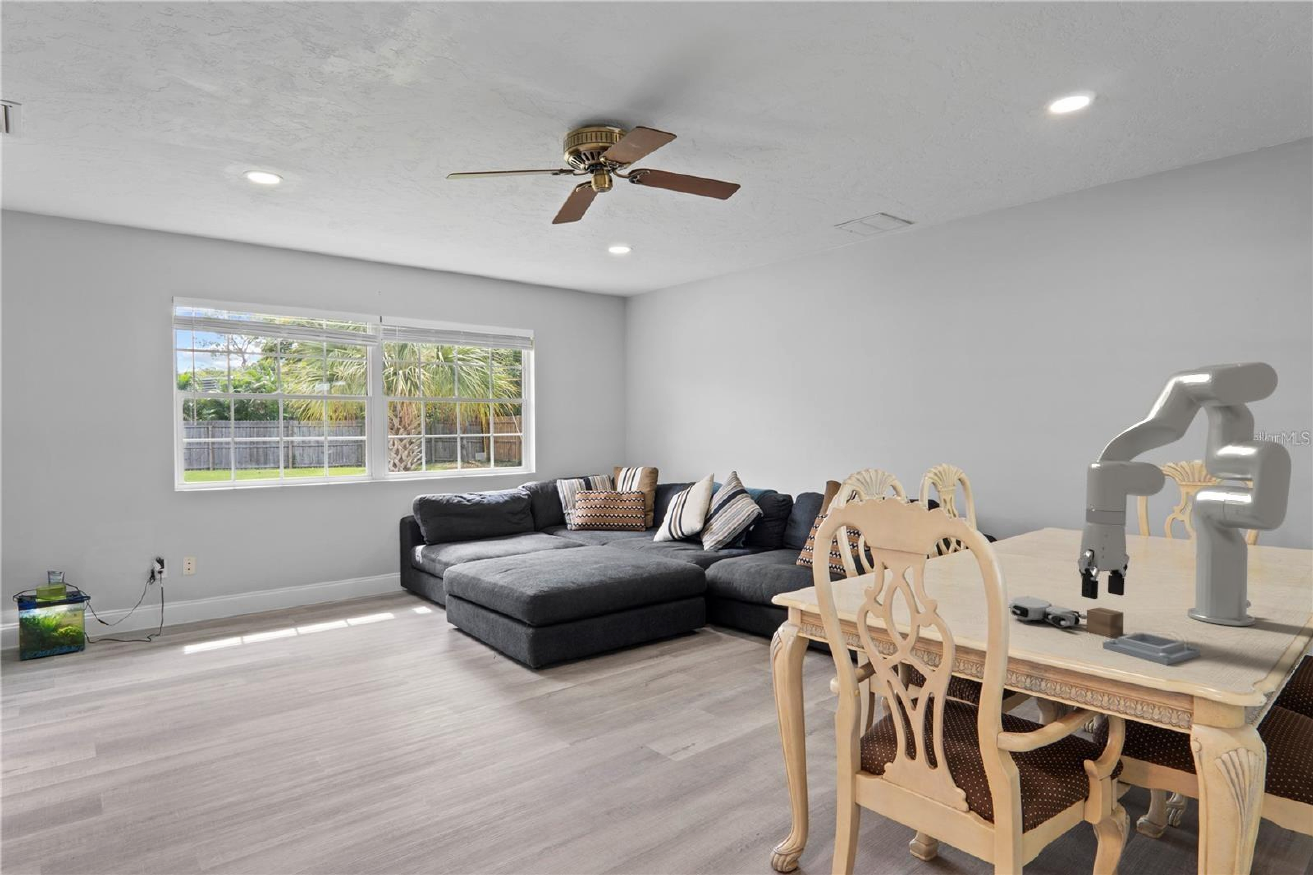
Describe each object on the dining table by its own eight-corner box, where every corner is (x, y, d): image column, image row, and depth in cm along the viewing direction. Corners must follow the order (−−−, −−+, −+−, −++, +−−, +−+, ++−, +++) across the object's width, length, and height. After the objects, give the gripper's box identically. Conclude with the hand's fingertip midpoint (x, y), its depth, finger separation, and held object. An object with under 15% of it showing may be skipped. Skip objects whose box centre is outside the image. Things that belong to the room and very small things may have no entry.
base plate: (1136, 639, 154) (1136, 628, 154) (1199, 655, 143) (1200, 643, 143) (1102, 647, 148) (1103, 636, 148) (1166, 665, 138) (1167, 652, 138)
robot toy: (1089, 628, 166) (1023, 610, 178) (1091, 609, 166) (1025, 592, 177) (1066, 638, 158) (998, 618, 170) (1068, 618, 158) (1000, 599, 170)
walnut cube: (1099, 629, 162) (1100, 607, 162) (1123, 635, 158) (1123, 612, 158) (1086, 632, 160) (1086, 610, 160) (1109, 638, 155) (1110, 615, 155)
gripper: (1111, 515, 166) (1108, 589, 166) (1064, 517, 157) (1061, 595, 158) (1146, 519, 159) (1143, 596, 159) (1099, 521, 151) (1096, 603, 151)
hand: (1102, 596), depth 158 cm, fingers open, 9 cm apart
